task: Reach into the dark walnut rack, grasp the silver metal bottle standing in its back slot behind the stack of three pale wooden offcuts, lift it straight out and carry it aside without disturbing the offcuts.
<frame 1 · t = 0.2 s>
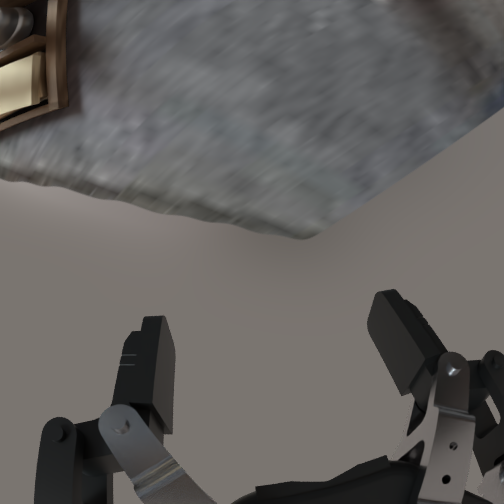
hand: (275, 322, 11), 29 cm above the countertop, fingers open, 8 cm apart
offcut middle: (17, 88, 24), point 1 cm above the countertop, touching offcut top
silver metal bottle: (22, 30, 20), on the countertop
walnut rack: (20, 58, 22), on the countertop
offcut top: (9, 89, 22), point 3 cm above the countertop, touching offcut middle
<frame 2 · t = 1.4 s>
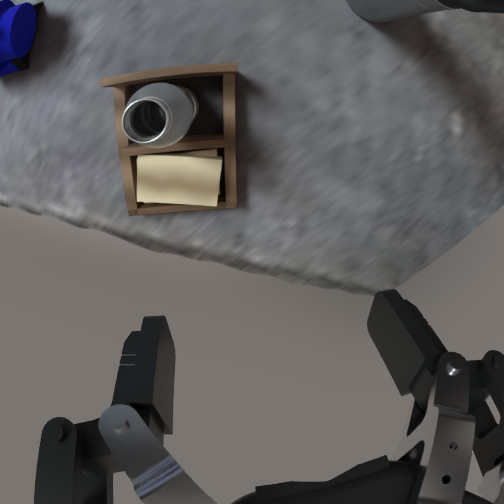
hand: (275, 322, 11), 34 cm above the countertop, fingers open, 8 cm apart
alarm clock: (18, 39, 24), on the countertop
silver metal bottle: (176, 107, 36), on the countertop
walnut rack: (177, 139, 38), on the countertop
offcut top: (179, 176, 38), point 3 cm above the countertop, touching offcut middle
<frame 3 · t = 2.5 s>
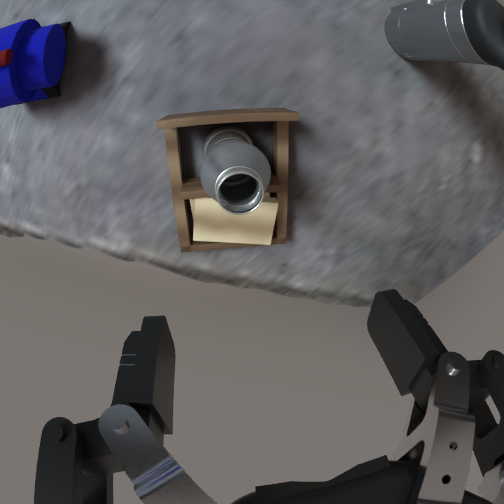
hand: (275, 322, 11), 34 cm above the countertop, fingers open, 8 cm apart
alarm clock: (44, 62, 27), on the countertop
silver metal bottle: (227, 145, 39), on the countertop
walnut rack: (228, 177, 41), on the countertop
offcut top: (233, 215, 41), point 3 cm above the countertop, touching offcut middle
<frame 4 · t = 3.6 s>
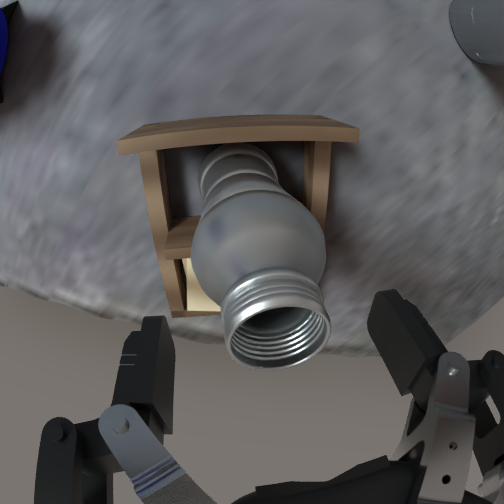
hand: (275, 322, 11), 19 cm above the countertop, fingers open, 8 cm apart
silver metal bottle: (235, 170, 27), on the countertop
walnut rack: (237, 217, 29), on the countertop
offcut top: (244, 273, 29), point 3 cm above the countertop
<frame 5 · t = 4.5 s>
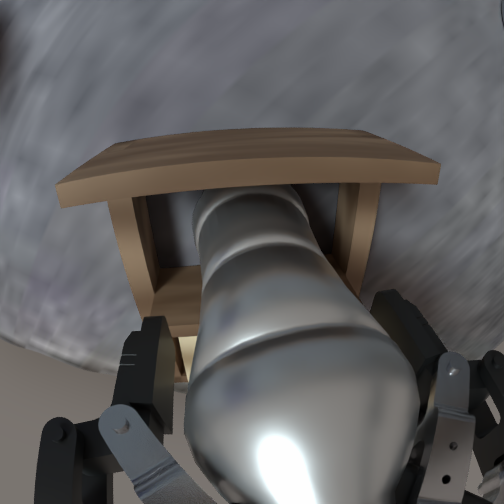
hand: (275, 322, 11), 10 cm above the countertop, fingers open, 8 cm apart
silver metal bottle: (245, 206, 19), on the countertop
walnut rack: (247, 266, 22), on the countertop
offcut top: (257, 335, 21), point 3 cm above the countertop, touching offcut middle
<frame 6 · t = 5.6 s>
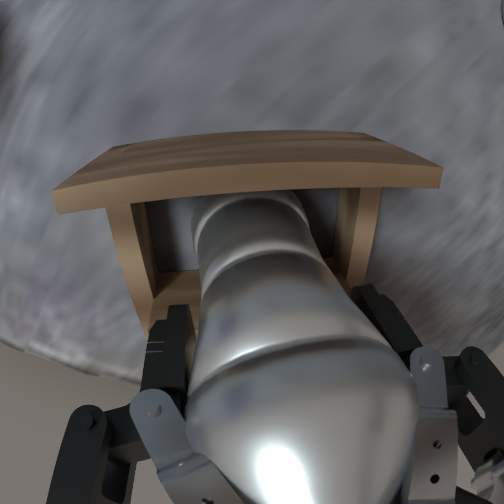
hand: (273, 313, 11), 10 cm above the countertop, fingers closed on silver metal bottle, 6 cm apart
silver metal bottle: (244, 210, 19), on the countertop, touching gripper
walnut rack: (247, 270, 22), on the countertop
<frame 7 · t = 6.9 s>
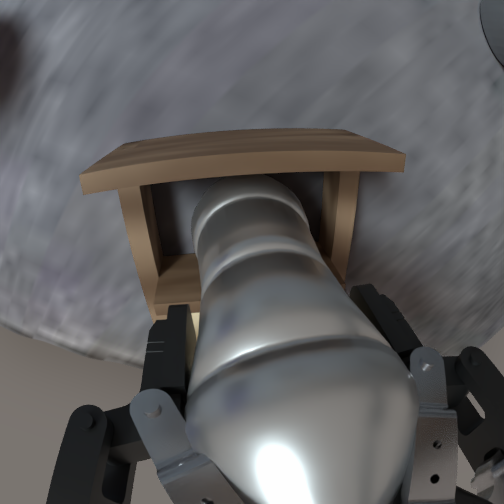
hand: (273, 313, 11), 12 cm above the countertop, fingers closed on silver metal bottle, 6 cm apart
silver metal bottle: (244, 210, 19), point 3 cm above the countertop, touching gripper
walnut rack: (242, 254, 24), on the countertop
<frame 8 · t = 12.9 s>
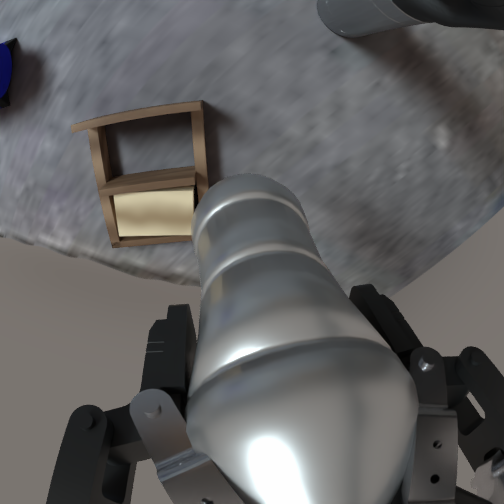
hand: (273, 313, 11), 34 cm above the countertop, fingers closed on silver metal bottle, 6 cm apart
silver metal bottle: (244, 210, 19), point 24 cm above the countertop, touching gripper
walnut rack: (153, 174, 40), on the countertop
offcut top: (155, 208, 40), point 3 cm above the countertop, touching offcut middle
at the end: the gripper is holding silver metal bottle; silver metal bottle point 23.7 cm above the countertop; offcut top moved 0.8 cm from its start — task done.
